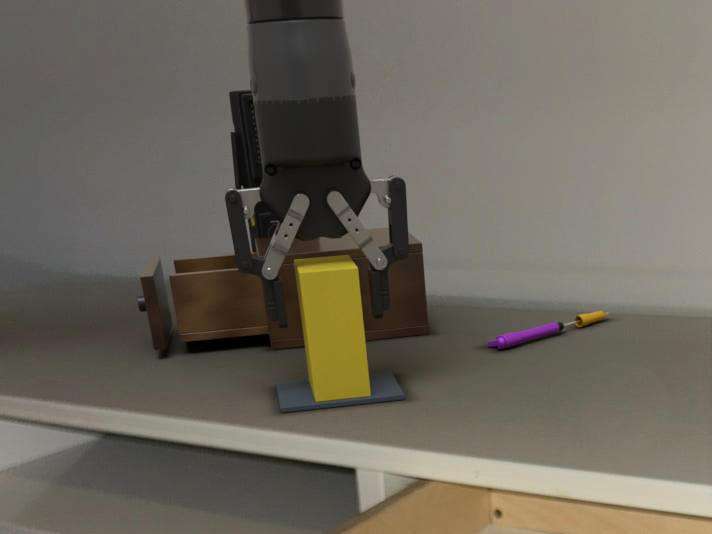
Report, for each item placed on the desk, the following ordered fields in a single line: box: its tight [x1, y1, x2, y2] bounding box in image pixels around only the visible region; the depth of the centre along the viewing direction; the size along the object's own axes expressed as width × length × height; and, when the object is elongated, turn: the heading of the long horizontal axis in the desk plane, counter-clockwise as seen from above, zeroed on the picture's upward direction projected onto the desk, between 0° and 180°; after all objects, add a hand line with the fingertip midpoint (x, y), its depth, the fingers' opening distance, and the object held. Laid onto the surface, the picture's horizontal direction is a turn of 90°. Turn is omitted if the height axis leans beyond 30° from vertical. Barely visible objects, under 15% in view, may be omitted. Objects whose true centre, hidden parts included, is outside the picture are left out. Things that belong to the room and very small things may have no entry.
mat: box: [275, 371, 406, 414], centre depth 89 cm, size 10×8×1 cm
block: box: [294, 255, 371, 402], centre depth 87 cm, size 4×7×10 cm, turn 12°
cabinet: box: [255, 227, 430, 351], centre depth 110 cm, size 16×14×9 cm
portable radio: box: [228, 89, 279, 252], centre depth 116 cm, size 8×6×25 cm
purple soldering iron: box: [487, 310, 610, 350], centre depth 105 cm, size 3×1×16 cm
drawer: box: [136, 251, 269, 351], centre depth 108 cm, size 16×12×7 cm
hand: (330, 321), depth 86 cm, fingers open, 7 cm apart
